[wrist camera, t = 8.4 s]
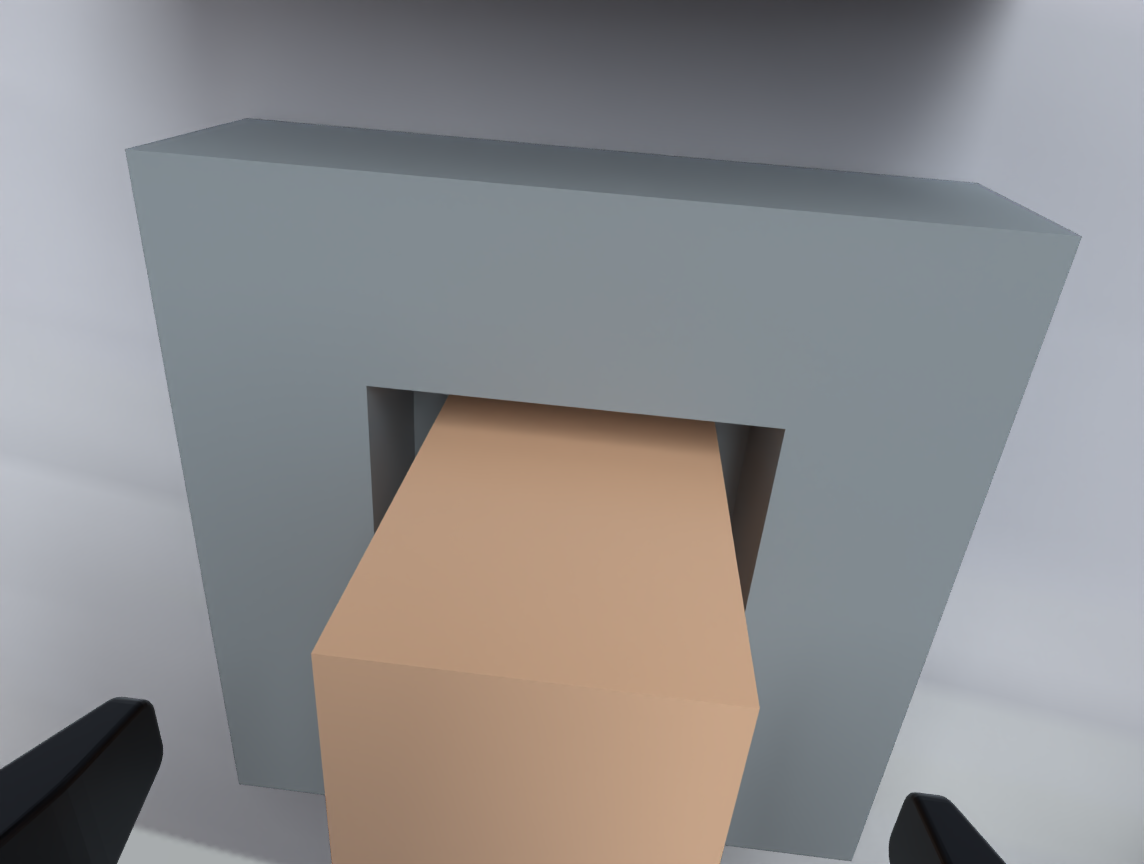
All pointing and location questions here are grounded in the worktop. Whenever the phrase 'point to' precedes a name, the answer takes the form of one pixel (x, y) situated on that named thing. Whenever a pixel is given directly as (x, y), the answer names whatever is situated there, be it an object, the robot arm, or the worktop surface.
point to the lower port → (595, 394)
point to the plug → (541, 649)
